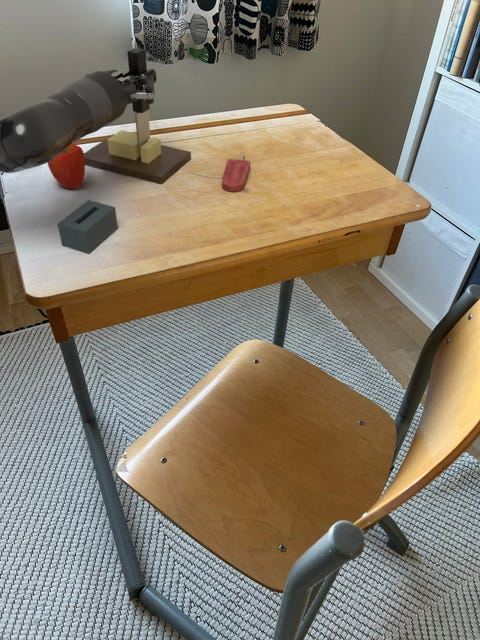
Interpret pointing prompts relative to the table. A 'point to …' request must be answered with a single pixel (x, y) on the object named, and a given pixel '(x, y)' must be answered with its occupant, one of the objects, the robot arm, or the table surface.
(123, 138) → the butter block
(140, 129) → the knife
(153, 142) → the butter slice
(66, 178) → the apple
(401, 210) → the table surface
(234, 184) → the popsicle
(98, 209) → the knife stand
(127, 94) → the robot arm
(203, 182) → the table surface
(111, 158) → the butter board
